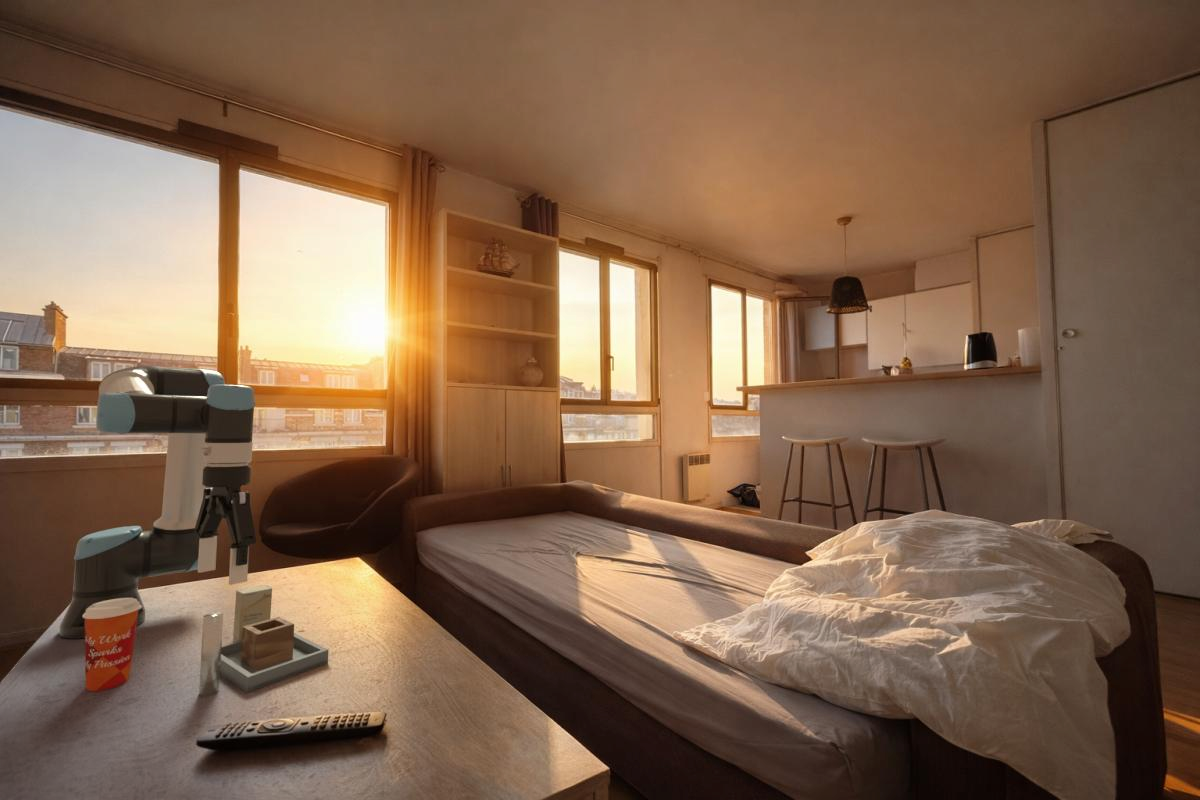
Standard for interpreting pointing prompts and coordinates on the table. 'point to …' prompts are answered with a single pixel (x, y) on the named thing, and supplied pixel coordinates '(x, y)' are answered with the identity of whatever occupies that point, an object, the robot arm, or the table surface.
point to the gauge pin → (211, 654)
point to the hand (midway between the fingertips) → (221, 576)
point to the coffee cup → (109, 642)
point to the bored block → (267, 643)
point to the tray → (249, 679)
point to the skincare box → (251, 608)
